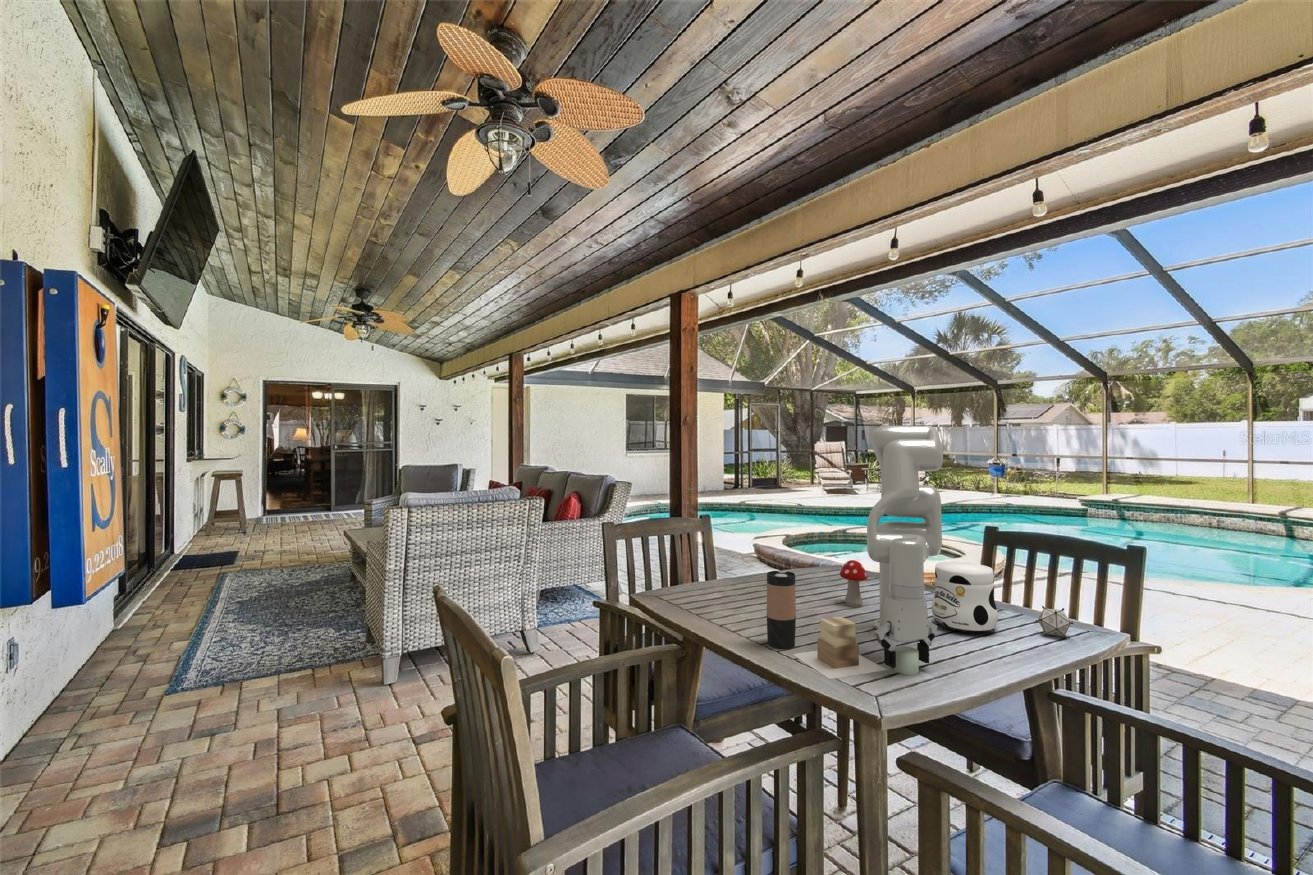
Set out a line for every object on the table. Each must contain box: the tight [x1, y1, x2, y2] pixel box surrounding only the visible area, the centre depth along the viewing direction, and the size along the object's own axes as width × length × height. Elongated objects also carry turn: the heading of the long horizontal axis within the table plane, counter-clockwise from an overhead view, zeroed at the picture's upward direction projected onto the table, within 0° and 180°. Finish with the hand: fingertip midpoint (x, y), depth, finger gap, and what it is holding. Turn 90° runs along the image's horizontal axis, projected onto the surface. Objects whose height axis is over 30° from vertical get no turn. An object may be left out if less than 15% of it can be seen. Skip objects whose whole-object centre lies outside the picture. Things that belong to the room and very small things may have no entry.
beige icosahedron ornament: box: [1035, 605, 1075, 640], centre depth 163 cm, size 9×8×10 cm
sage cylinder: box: [894, 645, 920, 676], centre depth 136 cm, size 5×5×6 cm
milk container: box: [931, 561, 999, 634], centre depth 170 cm, size 17×17×18 cm
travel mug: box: [766, 570, 797, 651], centre depth 154 cm, size 8×8×20 cm
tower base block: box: [816, 637, 860, 669], centre depth 142 cm, size 7×7×5 cm
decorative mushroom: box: [839, 559, 869, 608], centre depth 194 cm, size 10×9×15 cm
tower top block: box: [819, 616, 857, 647], centre depth 142 cm, size 6×6×5 cm
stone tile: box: [792, 650, 888, 680], centre depth 142 cm, size 16×16×1 cm
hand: (906, 663), depth 136 cm, fingers open, 9 cm apart
